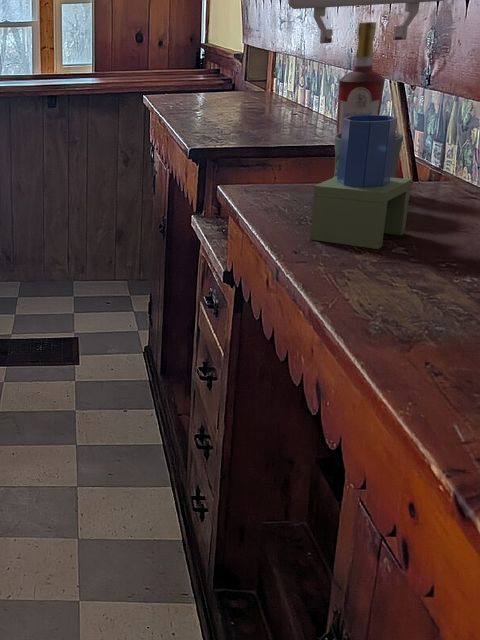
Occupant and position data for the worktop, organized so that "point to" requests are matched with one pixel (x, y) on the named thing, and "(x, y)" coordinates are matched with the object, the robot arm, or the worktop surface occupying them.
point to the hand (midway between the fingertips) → (362, 41)
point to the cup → (366, 150)
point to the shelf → (359, 212)
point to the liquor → (361, 81)
